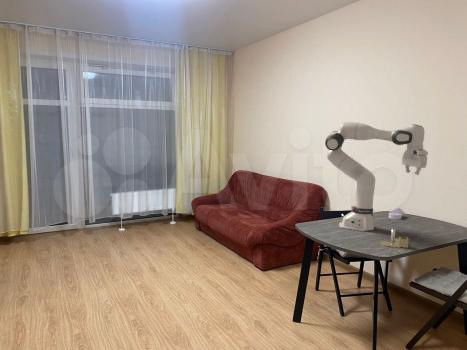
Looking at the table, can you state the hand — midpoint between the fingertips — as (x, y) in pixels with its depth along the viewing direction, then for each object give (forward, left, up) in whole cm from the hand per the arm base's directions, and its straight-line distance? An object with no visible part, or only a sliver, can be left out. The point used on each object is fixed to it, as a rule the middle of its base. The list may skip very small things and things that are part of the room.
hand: (412, 173), depth 214 cm
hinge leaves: (-9, -21, -40) cm, 46 cm away
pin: (-10, -19, -40) cm, 45 cm away
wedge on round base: (-1, +48, -40) cm, 63 cm away
